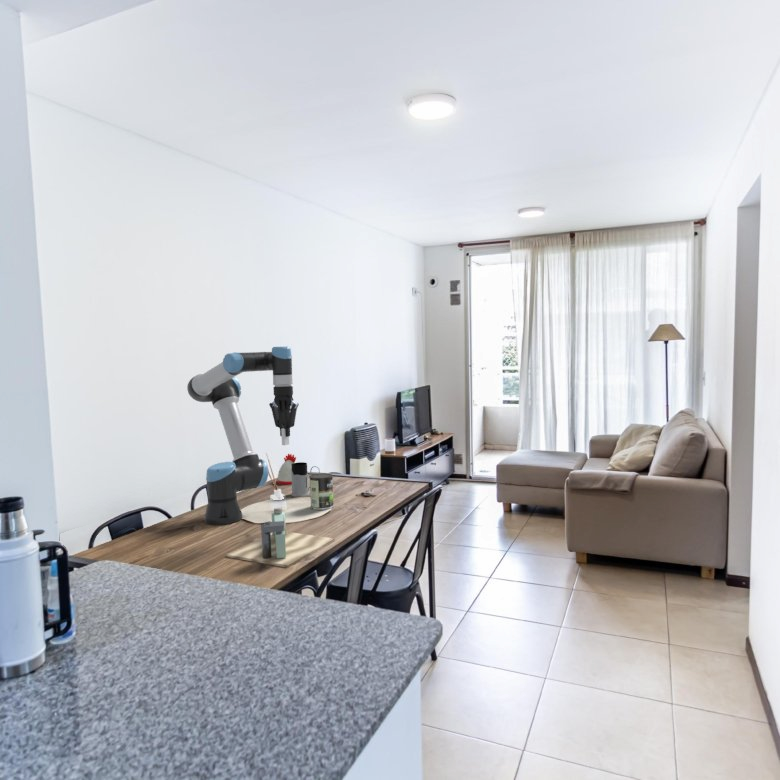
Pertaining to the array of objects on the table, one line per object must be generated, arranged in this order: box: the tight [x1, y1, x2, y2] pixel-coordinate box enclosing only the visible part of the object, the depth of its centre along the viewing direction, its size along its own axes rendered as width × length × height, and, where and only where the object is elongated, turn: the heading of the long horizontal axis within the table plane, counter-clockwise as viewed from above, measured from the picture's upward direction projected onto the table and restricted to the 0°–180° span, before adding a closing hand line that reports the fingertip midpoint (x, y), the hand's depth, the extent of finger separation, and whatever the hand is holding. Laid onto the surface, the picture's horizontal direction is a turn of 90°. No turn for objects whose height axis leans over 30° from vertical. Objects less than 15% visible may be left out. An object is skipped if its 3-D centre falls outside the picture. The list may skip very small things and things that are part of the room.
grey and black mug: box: [291, 461, 321, 498], centre depth 279 cm, size 9×14×15 cm, turn 87°
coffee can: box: [308, 472, 335, 511], centre depth 256 cm, size 10×10×14 cm
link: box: [271, 511, 287, 558], centre depth 205 cm, size 28×5×8 cm, turn 12°
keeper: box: [260, 521, 285, 559], centre depth 193 cm, size 8×5×12 cm, turn 98°
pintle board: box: [225, 507, 336, 568], centre depth 203 cm, size 26×28×11 cm
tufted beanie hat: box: [277, 453, 298, 486], centre depth 308 cm, size 14×14×15 cm
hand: (285, 444), depth 229 cm, fingers closed
